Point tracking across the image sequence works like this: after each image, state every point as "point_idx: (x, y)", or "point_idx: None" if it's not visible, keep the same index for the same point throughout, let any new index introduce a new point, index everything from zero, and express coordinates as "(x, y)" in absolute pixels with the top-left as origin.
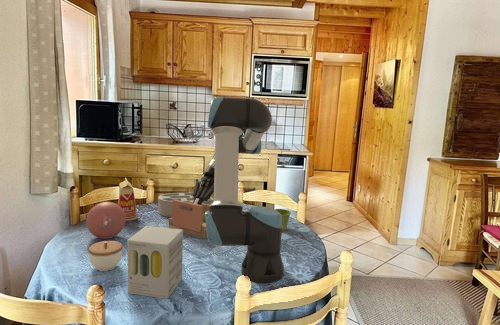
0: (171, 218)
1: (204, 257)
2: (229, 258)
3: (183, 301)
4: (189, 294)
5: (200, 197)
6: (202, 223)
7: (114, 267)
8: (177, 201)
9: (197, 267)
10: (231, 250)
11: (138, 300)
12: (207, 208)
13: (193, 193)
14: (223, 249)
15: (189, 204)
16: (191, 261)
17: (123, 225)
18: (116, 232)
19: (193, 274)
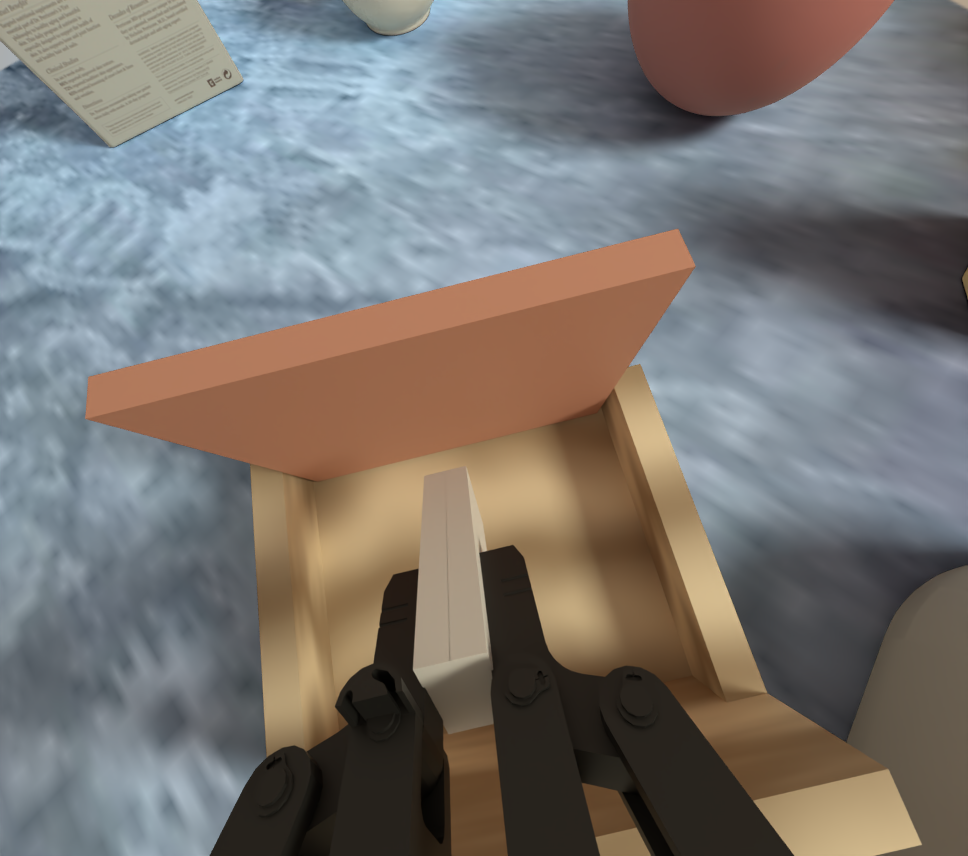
0: (632, 385)
1: (142, 310)
2: (27, 393)
3: (28, 92)
4: (32, 119)
5: (350, 688)
6: (276, 470)
7: (369, 25)
8: (567, 259)
9: (113, 232)
10: (61, 475)
11: None
12: (468, 825)
13: (698, 755)
14: (108, 449)
15: (329, 326)
16: (169, 244)
17: (657, 42)
18: (634, 47)
19: (94, 191)
